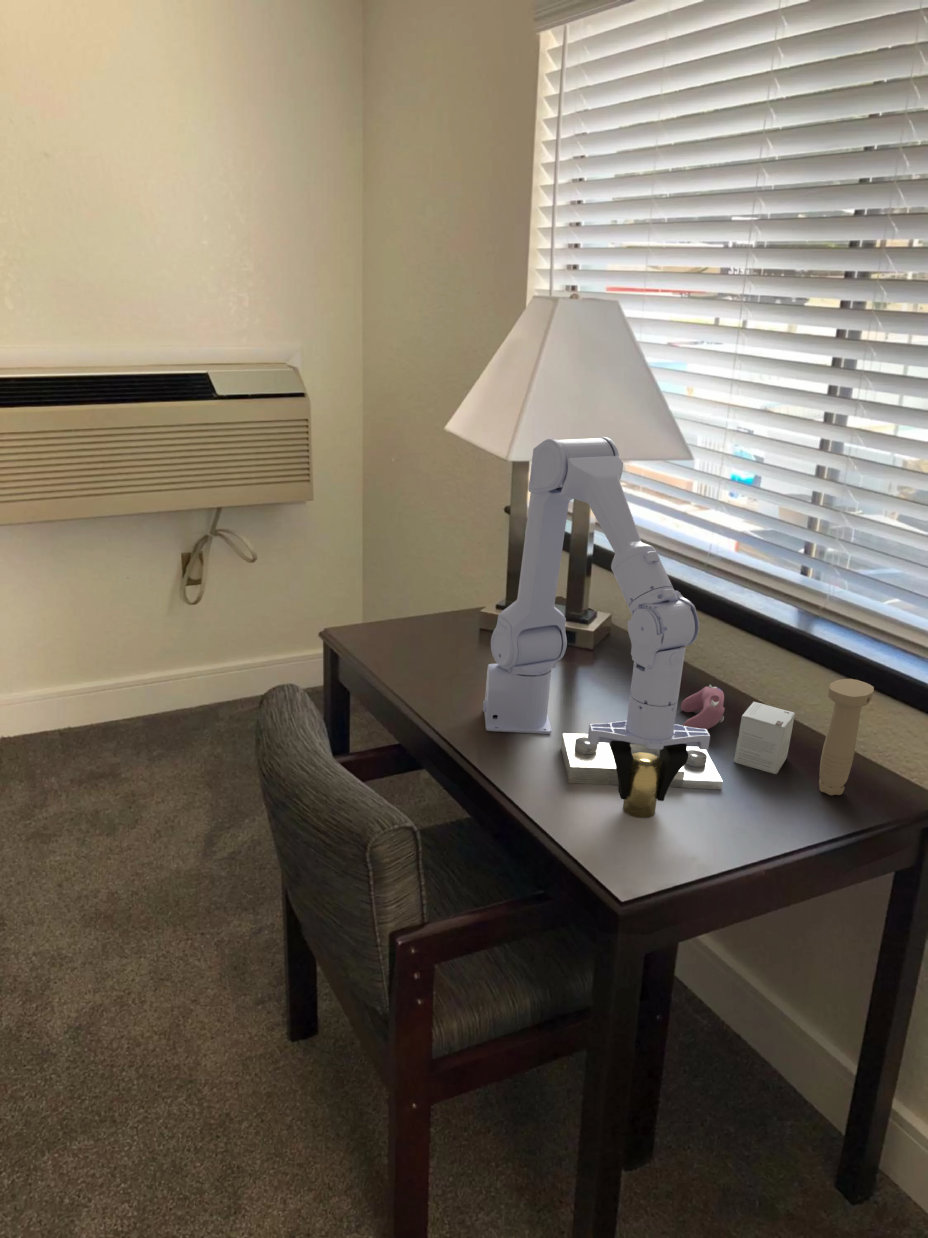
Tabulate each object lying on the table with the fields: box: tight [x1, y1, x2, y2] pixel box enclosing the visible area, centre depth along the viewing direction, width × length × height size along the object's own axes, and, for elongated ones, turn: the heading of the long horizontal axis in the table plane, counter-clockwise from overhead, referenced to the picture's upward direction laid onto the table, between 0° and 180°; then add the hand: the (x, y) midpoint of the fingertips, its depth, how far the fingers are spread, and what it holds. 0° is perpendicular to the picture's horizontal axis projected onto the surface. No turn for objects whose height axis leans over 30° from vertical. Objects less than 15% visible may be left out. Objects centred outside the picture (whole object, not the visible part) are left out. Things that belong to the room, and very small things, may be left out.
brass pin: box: [622, 752, 662, 819], centre depth 124 cm, size 4×4×7 cm
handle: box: [818, 678, 875, 796], centre depth 130 cm, size 5×6×15 cm
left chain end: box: [560, 732, 685, 785], centre depth 135 cm, size 15×10×4 cm, turn 91°
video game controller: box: [680, 684, 725, 731], centre depth 149 cm, size 10×5×7 cm, turn 169°
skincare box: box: [733, 701, 796, 775], centre depth 138 cm, size 6×6×7 cm
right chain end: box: [609, 747, 723, 790], centre depth 135 cm, size 15×10×2 cm, turn 91°
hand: (640, 796), depth 124 cm, fingers closed on brass pin, 4 cm apart
